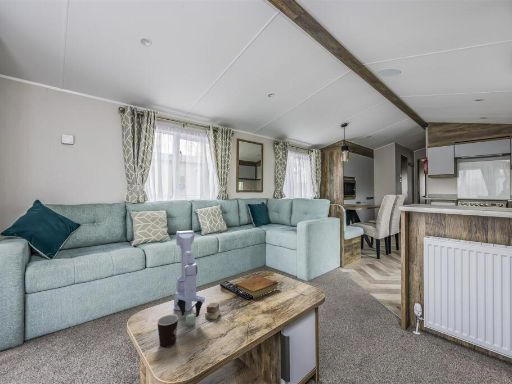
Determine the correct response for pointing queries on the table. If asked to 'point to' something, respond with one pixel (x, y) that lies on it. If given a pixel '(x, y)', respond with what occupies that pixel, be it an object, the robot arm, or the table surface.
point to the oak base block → (212, 314)
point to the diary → (257, 286)
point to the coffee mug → (167, 330)
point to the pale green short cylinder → (190, 319)
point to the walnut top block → (213, 307)
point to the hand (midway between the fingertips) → (190, 315)
